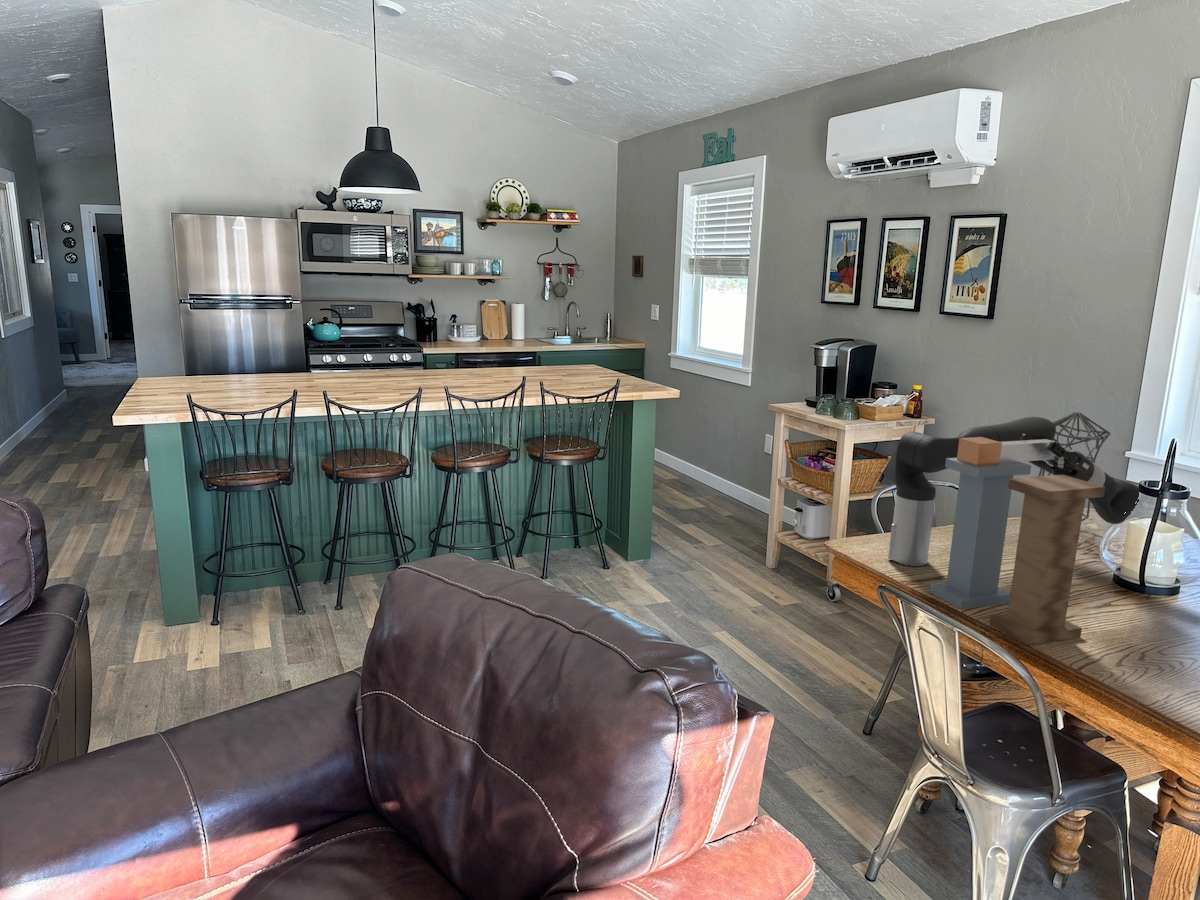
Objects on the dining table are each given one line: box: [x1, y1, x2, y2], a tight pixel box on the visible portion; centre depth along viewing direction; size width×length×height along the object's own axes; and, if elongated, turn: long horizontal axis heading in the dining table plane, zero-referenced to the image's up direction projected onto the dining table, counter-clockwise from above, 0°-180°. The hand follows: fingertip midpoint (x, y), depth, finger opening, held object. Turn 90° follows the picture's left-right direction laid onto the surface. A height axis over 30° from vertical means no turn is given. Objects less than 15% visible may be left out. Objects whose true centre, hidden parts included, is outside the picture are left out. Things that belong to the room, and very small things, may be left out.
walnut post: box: [988, 474, 1105, 646], centre depth 165 cm, size 14×10×32 cm
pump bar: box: [957, 437, 1057, 467], centre depth 180 cm, size 23×6×5 cm, turn 108°
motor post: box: [929, 458, 1032, 610], centre depth 182 cm, size 14×10×32 cm
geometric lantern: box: [1038, 411, 1111, 522], centre depth 233 cm, size 16×16×35 cm
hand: (1035, 441), depth 182 cm, fingers open, 7 cm apart
